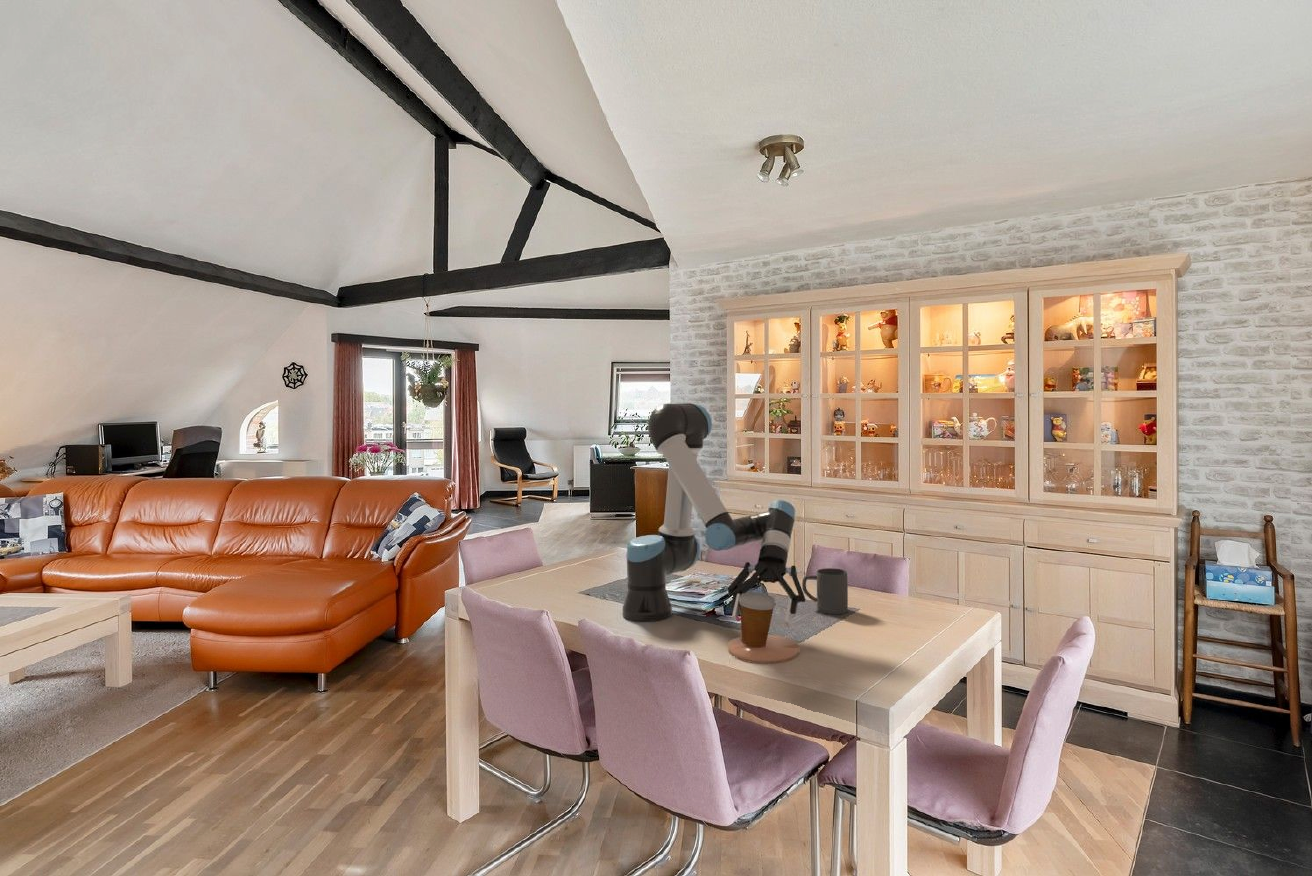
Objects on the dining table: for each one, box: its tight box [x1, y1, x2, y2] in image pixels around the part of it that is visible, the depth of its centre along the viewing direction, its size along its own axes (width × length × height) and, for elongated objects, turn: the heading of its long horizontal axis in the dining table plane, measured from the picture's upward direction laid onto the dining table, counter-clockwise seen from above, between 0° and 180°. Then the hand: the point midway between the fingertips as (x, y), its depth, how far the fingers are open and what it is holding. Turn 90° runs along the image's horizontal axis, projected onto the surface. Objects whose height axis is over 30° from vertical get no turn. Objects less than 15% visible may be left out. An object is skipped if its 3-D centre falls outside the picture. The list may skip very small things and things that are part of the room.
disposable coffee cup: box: [739, 592, 777, 647], centre depth 176 cm, size 10×10×12 cm
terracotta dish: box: [727, 634, 800, 664], centre depth 174 cm, size 18×18×1 cm
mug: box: [801, 567, 849, 615], centre depth 209 cm, size 14×9×12 cm
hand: (760, 621), depth 172 cm, fingers open, 13 cm apart
